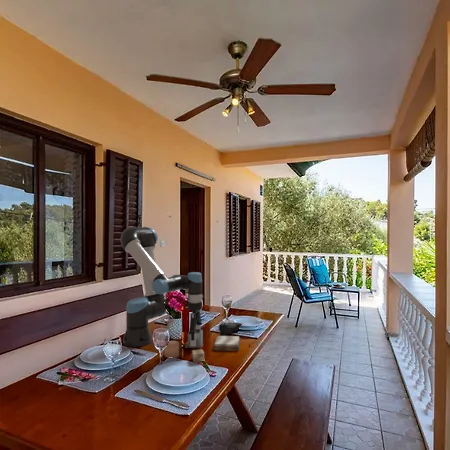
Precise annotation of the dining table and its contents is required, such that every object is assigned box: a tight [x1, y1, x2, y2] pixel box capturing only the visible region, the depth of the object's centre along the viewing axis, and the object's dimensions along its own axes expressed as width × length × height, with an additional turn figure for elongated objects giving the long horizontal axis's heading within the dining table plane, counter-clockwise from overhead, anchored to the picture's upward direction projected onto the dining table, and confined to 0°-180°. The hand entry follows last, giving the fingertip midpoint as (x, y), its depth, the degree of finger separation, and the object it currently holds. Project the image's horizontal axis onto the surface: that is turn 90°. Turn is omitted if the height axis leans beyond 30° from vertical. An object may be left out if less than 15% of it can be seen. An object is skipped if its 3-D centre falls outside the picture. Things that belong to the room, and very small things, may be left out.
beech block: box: [191, 348, 205, 363], centre depth 147 cm, size 5×5×4 cm
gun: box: [218, 322, 243, 336], centre depth 185 cm, size 4×20×10 cm, turn 146°
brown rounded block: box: [164, 340, 180, 359], centre depth 153 cm, size 7×7×6 cm
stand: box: [212, 335, 241, 352], centre depth 165 cm, size 13×13×3 cm
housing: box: [187, 329, 204, 349], centre depth 166 cm, size 7×6×8 cm
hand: (195, 341), depth 166 cm, fingers open, 13 cm apart
